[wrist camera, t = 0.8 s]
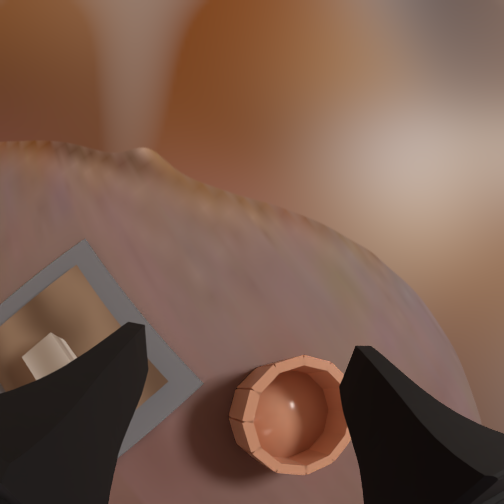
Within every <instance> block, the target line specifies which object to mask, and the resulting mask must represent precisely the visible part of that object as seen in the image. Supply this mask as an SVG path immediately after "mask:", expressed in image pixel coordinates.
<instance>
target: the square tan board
mask: <svg viewBox="0 0 504 504" xmlns="http://www.w3.org/2000/svg"><path fill="white" fill-rule="evenodd" d="M120 327H121V325H120V324H119V323H118V322H117V320H116V319H115V318H114V316H113V315H112V314H111V313H110V311H109V310H108V309H107V307H106V306H105V305H104V303H103V302H102V300H101V299H100V298H99V296H98V295H97V294H96V292H95V291H94V289H93V288H92V286H91V285H90V284H89V282H88V281H87V279H86V278H85V276H84V275H83V273H82V272H81V270H80V269H79V267H78V266H77V265H75V266H74V267H73V268H71V269H70V270H69V271H67V272H66V273H65V274H63V275H62V276H61V277H59V278H58V279H57V280H56V281H54V282H53V283H52V284H50V285H49V286H48V287H47V288H45V289H44V290H43V291H42V292H40V293H39V294H38V295H37V296H35V297H34V298H33V299H32V300H31V301H29V302H28V303H27V304H26V305H25V306H23V307H22V308H21V309H20V310H19V311H17V312H16V313H15V314H14V315H13V316H12V317H10V318H9V319H8V320H7V321H6V322H5V323H4V324H2V325H1V326H0V383H1V385H2V386H3V388H4V390H5V391H6V392H7V391H10V390H13V389H16V388H18V387H21V386H23V385H26V384H28V383H31V382H34V381H36V380H38V379H40V378H42V377H44V376H46V375H48V374H50V373H52V372H54V371H56V370H58V369H60V368H62V367H63V366H65V365H67V364H68V363H70V362H71V361H73V360H74V359H76V358H78V357H79V356H81V355H82V354H84V353H85V352H87V351H88V350H90V349H91V348H93V347H94V346H95V345H97V344H98V343H100V342H101V341H102V340H104V339H105V338H107V337H108V336H109V335H111V334H112V333H113V332H115V331H116V330H117V329H119V328H120ZM148 369H149V370H148V374H147V377H146V381H145V385H144V389H143V392H142V395H141V398H140V400H139V402H138V405H137V407H136V409H137V408H138V407H140V406H141V405H142V404H143V403H144V402H145V401H147V400H148V399H149V398H150V397H151V396H152V395H154V394H155V393H156V392H157V391H158V390H159V389H160V388H162V387H163V386H164V385H165V384H166V383H167V382H168V380H167V379H166V378H165V377H164V376H163V375H162V374H161V373H160V372H159V370H158V369H157V368H156V367H155V366H154V365H153V364H152V363H151V361H150V360H149V359H148Z"/></svg>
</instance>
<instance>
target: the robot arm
mask: <svg viewBox="0 0 504 504" xmlns="http://www.w3.org/2000/svg"><path fill="white" fill-rule="evenodd" d="M148 370H149V369H148V358H147V347H146V333H145V325H144V324H138V323H132V322H127V323H126V324H124V325H123V326H121V327H120V328H119V329H117V330H116V331H115V332H113V333H112V334H111V335H109V336H108V337H107V338H105V339H104V340H102V341H101V342H100V343H98V344H97V345H95V346H94V347H93V348H91V349H90V350H88V351H87V352H85V353H84V354H82V355H81V356H79V357H78V358H76V359H74V360H73V361H71V362H70V363H68V364H67V365H65V366H63V367H62V368H60V369H58V370H56V371H54V372H52V373H50V374H48V375H46V376H44V377H42V378H40V379H38V380H36V381H34V382H31V383H28V384H26V385H23V386H21V387H18V388H16V389H13V390H10V391H7V392H4V393H0V504H108V501H109V495H110V490H111V485H112V480H113V475H114V471H115V466H116V462H117V458H118V454H119V451H120V448H121V445H122V442H123V439H124V437H125V434H126V432H127V429H128V427H129V424H130V422H131V420H132V417H133V415H134V412H135V410H136V407H137V405H138V402H139V400H140V398H141V395H142V392H143V389H144V385H145V381H146V377H147V374H148ZM339 390H340V397H341V404H342V409H343V413H344V417H345V420H346V423H347V427H348V430H349V433H350V437H351V440H352V443H353V446H354V450H355V453H356V456H357V460H358V464H359V468H360V475H361V481H362V488H363V498H364V504H504V434H503V433H500V432H498V431H495V430H492V429H489V428H487V427H484V426H482V425H480V424H478V423H476V422H474V421H472V420H470V419H468V418H466V417H464V416H462V415H460V414H458V413H456V412H455V411H453V410H452V409H450V408H448V407H447V406H445V405H444V404H442V403H441V402H439V401H438V400H436V399H435V398H433V397H432V396H431V395H429V394H428V393H427V392H425V391H424V390H423V389H422V388H420V387H419V386H418V385H417V384H415V383H414V382H413V381H412V380H411V379H409V378H408V377H407V376H406V375H405V374H403V373H402V372H401V371H400V370H399V369H398V368H397V367H395V366H394V365H393V364H392V363H391V362H390V361H389V360H387V359H386V358H385V357H384V356H383V355H382V354H380V353H379V352H378V351H377V350H376V349H374V348H373V347H371V346H355V349H354V351H353V354H352V357H351V359H350V362H349V364H348V367H347V369H346V372H345V374H344V376H343V379H342V381H341V383H340V386H339Z"/></svg>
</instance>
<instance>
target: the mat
mask: <svg viewBox="0 0 504 504" xmlns="http://www.w3.org/2000/svg"><path fill="white" fill-rule="evenodd" d="M75 265H77V266H78V267H79V269H80V270H81V272H82V273H83V275H84V276H85V278H86V279H87V281H88V282H89V284H90V285H91V286H92V288H93V289H94V291H95V292H96V294H97V295H98V296H99V298H100V299H101V300H102V302H103V303H104V305H105V306H106V307H107V309H108V310H109V311H110V313H111V314H112V315H113V316H114V318H115V319H116V320H117V322H118V323H119V324H120V325H121V326H123V325H124V324H126V323H127V322H132V323H138V324H144V325H145V333H146V347H147V358H148V359H149V360H150V361H151V363H152V364H153V365H154V366H155V367H156V368H157V369H158V370H159V372H160V373H161V374H162V375H163V376H164V377H165V378H166V379H167V380H168V382H167V383H166V384H165V385H164V386H163V387H162V388H160V389H159V390H158V391H157V392H156V393H155V394H154V395H152V396H151V397H150V398H149V399H148V400H147V401H145V402H144V403H143V404H142V405H141V406H140V407H138V408H137V409H136V410H135V412H134V415H133V417H132V420H131V422H130V424H129V427H128V429H127V432H126V434H125V437H124V439H123V442H122V445H121V448H120V451H119V454H118V457H120V456H121V455H122V454H123V453H125V452H126V451H127V450H128V449H129V448H131V447H132V446H133V445H134V444H136V443H137V442H138V441H139V440H140V439H142V438H143V437H144V436H145V435H146V434H147V433H149V432H150V431H151V430H152V429H153V428H154V427H156V426H157V425H158V424H159V423H160V422H161V421H163V420H164V419H165V418H166V417H167V416H168V415H169V414H170V413H172V412H173V411H174V410H175V409H176V408H177V407H178V406H180V405H181V404H182V403H183V402H184V401H185V400H186V399H187V398H188V397H189V396H191V395H192V394H193V393H194V392H195V391H196V390H197V389H198V388H199V387H200V386H201V385H203V384H204V383H203V382H202V381H201V380H200V379H199V378H198V377H197V376H196V375H195V374H194V373H193V372H192V371H191V370H190V369H189V368H188V367H187V366H186V365H185V364H184V362H183V361H182V360H181V359H180V358H179V357H178V356H177V355H176V354H175V353H174V352H173V350H172V349H171V348H170V347H169V346H168V345H167V344H166V343H165V341H164V340H163V339H162V338H161V337H160V336H159V335H158V333H157V332H156V331H155V330H154V329H153V328H152V326H151V325H150V324H149V323H148V322H147V320H146V319H145V318H144V317H143V316H142V314H141V313H140V312H139V311H138V309H137V308H136V307H135V306H134V304H133V303H132V302H131V301H130V299H129V298H128V297H127V296H126V294H125V293H124V292H123V290H122V289H121V288H120V287H119V285H118V284H117V283H116V281H115V280H114V279H113V277H112V276H111V275H110V273H109V272H108V270H107V269H106V268H105V266H104V265H103V264H102V262H101V261H100V259H99V258H98V257H97V255H96V254H95V252H94V251H93V249H92V248H91V246H90V245H89V244H88V242H87V241H86V239H84V240H82V241H81V242H79V243H78V244H77V245H75V246H74V247H72V248H71V249H70V250H68V251H67V252H66V253H64V254H63V255H61V256H60V257H59V258H57V259H56V260H55V261H53V262H52V263H51V264H50V265H48V266H47V267H46V268H44V269H43V270H42V271H40V272H39V273H38V274H37V275H35V276H34V277H33V278H32V279H30V280H29V281H28V282H27V283H25V284H24V285H23V286H22V287H20V288H19V289H18V290H17V291H16V292H14V293H13V294H12V295H11V296H10V297H9V298H7V299H6V300H5V301H4V302H3V303H2V304H0V326H1V325H2V324H4V323H5V322H6V321H7V320H8V319H9V318H10V317H12V316H13V315H14V314H15V313H16V312H17V311H19V310H20V309H21V308H22V307H23V306H25V305H26V304H27V303H28V302H29V301H31V300H32V299H33V298H34V297H35V296H37V295H38V294H39V293H40V292H42V291H43V290H44V289H45V288H47V287H48V286H49V285H50V284H52V283H53V282H54V281H56V280H57V279H58V278H59V277H61V276H62V275H63V274H65V273H66V272H67V271H69V270H70V269H71V268H73V267H74V266H75ZM4 392H6V391H5V390H4V388H3V386H2V385H1V383H0V393H4Z"/></svg>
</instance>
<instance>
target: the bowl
mask: <svg viewBox="0 0 504 504" xmlns="http://www.w3.org/2000/svg"><path fill="white" fill-rule="evenodd" d="M343 376H344V374H343V373H342V372H341V371H340V370H339V369H338V368H337V367H336V366H335V365H334V364H333V363H330V361H326V360H322V359H318V358H314V357H310V356H306V355H301V356H297V357H293V358H289V359H285V360H281V361H278V362H274V363H271V364H267V365H263V366H260V367H257V368H255V369H254V370H253V371H252V372H251V373H250V374H249V375H248V376H247V378H246V379H245V380H244V381H243V382H242V383H241V384H240V385H239V386H238V387H237V389H235V393H234V397H233V401H232V404H231V408H230V412H229V416H230V417H229V421H230V424H231V428H232V431H233V434H234V438H235V441H236V443H237V445H238V446H239V447H241V448H242V449H243V450H244V451H245V452H247V453H248V454H249V455H250V456H251V457H253V458H254V459H255V460H256V461H258V462H259V463H261V464H263V465H264V466H266V467H267V468H269V469H271V470H272V471H274V472H276V473H284V474H296V475H305V474H307V475H308V474H310V473H312V472H314V471H316V470H318V469H321V468H323V467H325V466H327V465H329V464H331V463H333V461H335V460H336V459H337V457H338V456H339V455H340V454H341V452H342V451H343V450H344V448H345V447H346V446H347V444H348V443H349V442H350V440H351V438H350V433H349V430H348V427H347V423H346V420H345V417H344V413H343V409H342V404H341V397H340V390H339V386H340V383H341V381H342V379H343Z"/></svg>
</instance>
